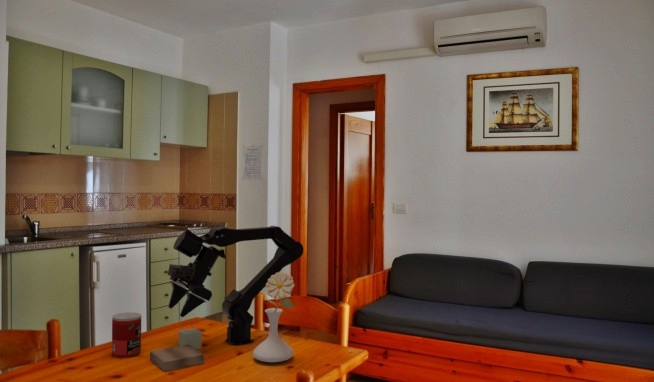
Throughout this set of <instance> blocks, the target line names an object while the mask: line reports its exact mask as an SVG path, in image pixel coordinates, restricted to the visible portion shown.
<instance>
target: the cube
mask: <svg viewBox="0 0 654 382" xmlns="http://www.w3.org/2000/svg"><path fill="white" fill-rule="evenodd" d="M187 344H188V345H190V346H191V347H193V348H195V349H196V350H199V349H202V331H201V330H198V329H197V328H196V327H193V328H192V327H191V328H186V329H180V330H178V346H182V345H187Z"/></svg>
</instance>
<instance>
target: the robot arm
mask: <svg viewBox="0 0 654 382" xmlns="http://www.w3.org/2000/svg"><path fill="white" fill-rule="evenodd" d="M270 239H271V240H272V242H273V243H274V245H276V247H277V248H276V250H275V253H274V256H273V257H272V258H271V260H270V261H268V263H266V265H265V266H264V267H262V268H261V270H260V271H259V272H258V273H257V274H256V275H255V276H254V277H253V278H252V279H251V280H250V281H249V282H248V283H247V284H246V285H245V286H244V287H243V288H242V289H239V290H236V289H234V288H233V289H232V290H231V291H230V292H229V294H228V295H227V296H224V301H223V302H222V304H221V310H222V312H223V314H224V315H226V316H227V320H228V326H227V327H226V338H225V341H226V342H228V343H230V344H232V345H234V346H238V345H244V344H248V343H253V342H254V339H252V338H251V336H252V334H251V333H252V332H251V329H252V324H253V321H254V316H253V315H252V314H251V313H249V309H250V308H251V306H252V303H253V301H254V299H255V298H256V297H257V296H258V295H259V294H260V293H261V292H262V291H263V290H264V288H266V283H267V282H268V279H269V278H271V275H275V274H276V273H281V272H282V270H283V269H284V268H285V267H287V266H289V265H291V264H293V263H295V262H296V261H297V260H298V259H300V258H301V257H302V256H303V254H304V246H303V244H302V242H300V241H297V240H295V239H294V238H293V237H292V236H290V235H289V234H288V233H286V232H285V231H284V230H283V229H282V227H280V226H277V225H270V226H262V227H248V228H247V227H246V228H231V227H224V226H223V227H222V226H214V227H211V228H210V230H209V231H208V232H207V233H205V234H202V235H200V236H198V235H197V234H195V233H193V232H192V231H191V230H190V229H187V228H186V229H184V231H183V232H182V233H181V234H180V235H179V236H178V237H177V238H176V240H175V241H174V243H173V249H174V250H175V251H177V252H179V253H181V254H183V255H185V256H186V257H189V258H192V257H195V259H193V262H191V261H190V262H188V263H187V265H183V264H181V265H180V264H173V263H171V264H169V267H168V271H167V276H170V277H169V280H170V281H169V282H170V284H171V287H172V290H171V295H170V299H169V303H168V308H169V309H171V310H172V309H173V308H174V307H175V306H176V305H177V304H178V303H179V302H180V301H181V300H182V299H183V298H184V297H185V296H186V300H185V302H184V304H183V306H182V309H181V311H180V313H179V316H180V317H181V318H184V317H186V315H188V314H189V313H191V312H192V311H194V310H195V309H197V308H198V307H199V306H201V305H202V304H204V303H206V302H207V301H208V302H210V300H211V299H212V297H213V294H212V290H210V289H208V288H206V287H205V286H206V285H204V283H205V282H206V279H207V278H208V277H211V276H212V272H211V271H212V269H213V267H214V266H215V264H216V262H217V260H218V258H219V257H220V258H222V259H226V258H227V256H226V254H225V253H226V252H225V249H223V248H224V247H228V246H232V245H235V244H237V243H241V242H248V241H249V242H250V241H261V240H270ZM204 244H206V245H209V246H206V245H204ZM215 246H217V247H220V249H219V248H216V247H215Z"/></svg>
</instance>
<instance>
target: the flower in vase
mask: <svg viewBox="0 0 654 382" xmlns="http://www.w3.org/2000/svg"><path fill="white" fill-rule="evenodd" d="M293 279H294V278H293V276H292V275H290V274H288V273H287V272H284V271H280V272H279V273H276V274H275V275H271V278H269V279H268V282H267V283H266V286H265V291H266V295H267V296H268V297H270V298H273V299H274V300H276V301H278V300H280V302H279V303H278V305H277V304H276V303H275V302H274V301H272V300H270V299H268V298H267V297H265V300H267V301H268V302H269V303H271V304H273V305H274V306H276V308H275V307H271V308H267V309H265V310H264V313H266V315H267V318H268V324H269V329H268V330H269V331H268V336H267V337H266V339H265V340H263V341H262V342H261V343H259V345H257V346H256V347H255V348H254V349H253V351H252V355H253V357H254V359H256V360H258V361H261V362H264V363H265V362H266V363H281V362H284V361H287V360H289V359H291V358H293V355H294V350H293V349H292V347H291V346H290V345H289V344H287V343H286V342H285V341H284V340H282V338H280V336H279V333H278V328H279V327H278V325H279V319H280V315H281V314H282V312H284V310H283V309H282V308H279V307H280V305H282V307H283V308H284V309H290V308H294V307H295V306H294V304H293V302H292V301H291V300H290V299H288V298H286V297H289V296H290V294H291V292H293V289H294V287H295V283H294V280H293ZM284 298H285V299H284Z"/></svg>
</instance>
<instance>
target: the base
mask: <svg viewBox="0 0 654 382" xmlns="http://www.w3.org/2000/svg"><path fill="white" fill-rule="evenodd" d="M149 361H150V362H152V363H153V364H154V365H155V366H156V367H158V368H159V369H160V370H161V371H162V372H163V373H167V372H170V371H174V370H175V371H176V370H180V369H184V368H189V367H190V368H191V367H193V366H199V365H204V364H205V354H204V353H202V352H201V351H200V350H199V349H195V348H193V347H191V346H190V345H188V344H187V345H182V346H179V345H178V346H172V347H167V348H166V347H165V348H161V349H156V350H155V349H154V350H150V351H149Z"/></svg>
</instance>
